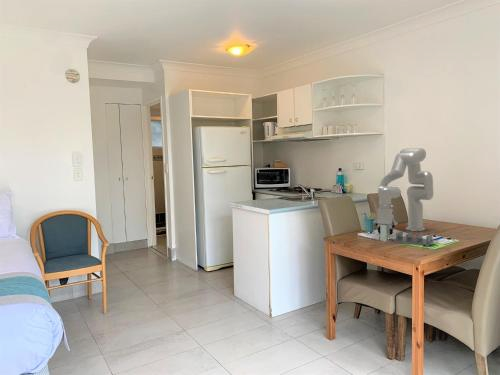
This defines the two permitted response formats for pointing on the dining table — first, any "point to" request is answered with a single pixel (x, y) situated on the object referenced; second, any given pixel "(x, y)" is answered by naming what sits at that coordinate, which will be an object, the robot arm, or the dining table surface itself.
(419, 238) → the rack
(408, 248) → the dining table surface
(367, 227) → the cup
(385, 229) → the pale green rectangular prism
